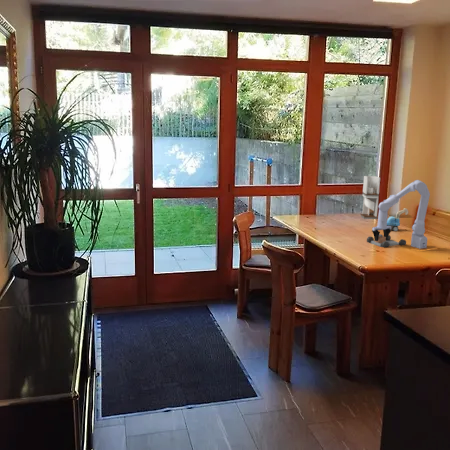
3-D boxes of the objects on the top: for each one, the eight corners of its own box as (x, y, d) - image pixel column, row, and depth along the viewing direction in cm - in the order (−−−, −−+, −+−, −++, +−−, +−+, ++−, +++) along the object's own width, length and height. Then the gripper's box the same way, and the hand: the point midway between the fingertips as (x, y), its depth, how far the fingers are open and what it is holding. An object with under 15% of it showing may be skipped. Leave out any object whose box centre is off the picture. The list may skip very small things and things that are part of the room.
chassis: (406, 246, 322) (406, 239, 321) (382, 249, 314) (383, 242, 313) (388, 240, 336) (389, 234, 335) (366, 243, 327) (366, 236, 326)
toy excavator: (407, 232, 364) (409, 209, 360) (384, 230, 367) (386, 208, 363) (405, 229, 372) (407, 207, 368) (382, 228, 375) (384, 206, 371)
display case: (360, 216, 422) (364, 175, 415) (373, 216, 422) (376, 176, 414) (363, 218, 411) (367, 177, 403) (376, 219, 410) (380, 177, 403)
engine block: (385, 244, 321) (386, 235, 320) (380, 245, 320) (380, 235, 318) (379, 242, 326) (380, 233, 325) (374, 243, 324) (375, 234, 323)
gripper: (386, 218, 326) (384, 238, 328) (369, 220, 319) (368, 240, 322) (394, 220, 319) (392, 240, 322) (377, 222, 313) (375, 242, 316)
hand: (380, 240), depth 322 cm, fingers open, 7 cm apart
